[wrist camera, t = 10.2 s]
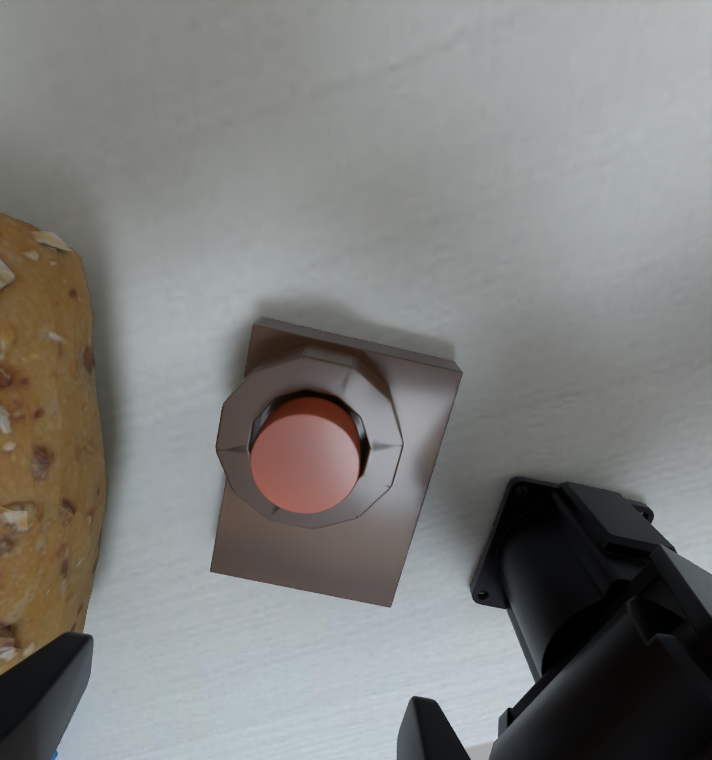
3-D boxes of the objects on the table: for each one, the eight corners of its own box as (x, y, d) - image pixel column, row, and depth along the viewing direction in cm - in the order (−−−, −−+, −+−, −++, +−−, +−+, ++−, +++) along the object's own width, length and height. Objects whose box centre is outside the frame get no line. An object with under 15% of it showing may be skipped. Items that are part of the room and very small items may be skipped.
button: (347, 497, 18) (346, 523, 16) (252, 476, 18) (241, 501, 16) (370, 408, 17) (371, 427, 15) (269, 386, 17) (259, 402, 15)
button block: (388, 581, 23) (393, 641, 20) (214, 546, 22) (189, 601, 19) (455, 360, 20) (474, 386, 16) (255, 315, 19) (233, 331, 16)
